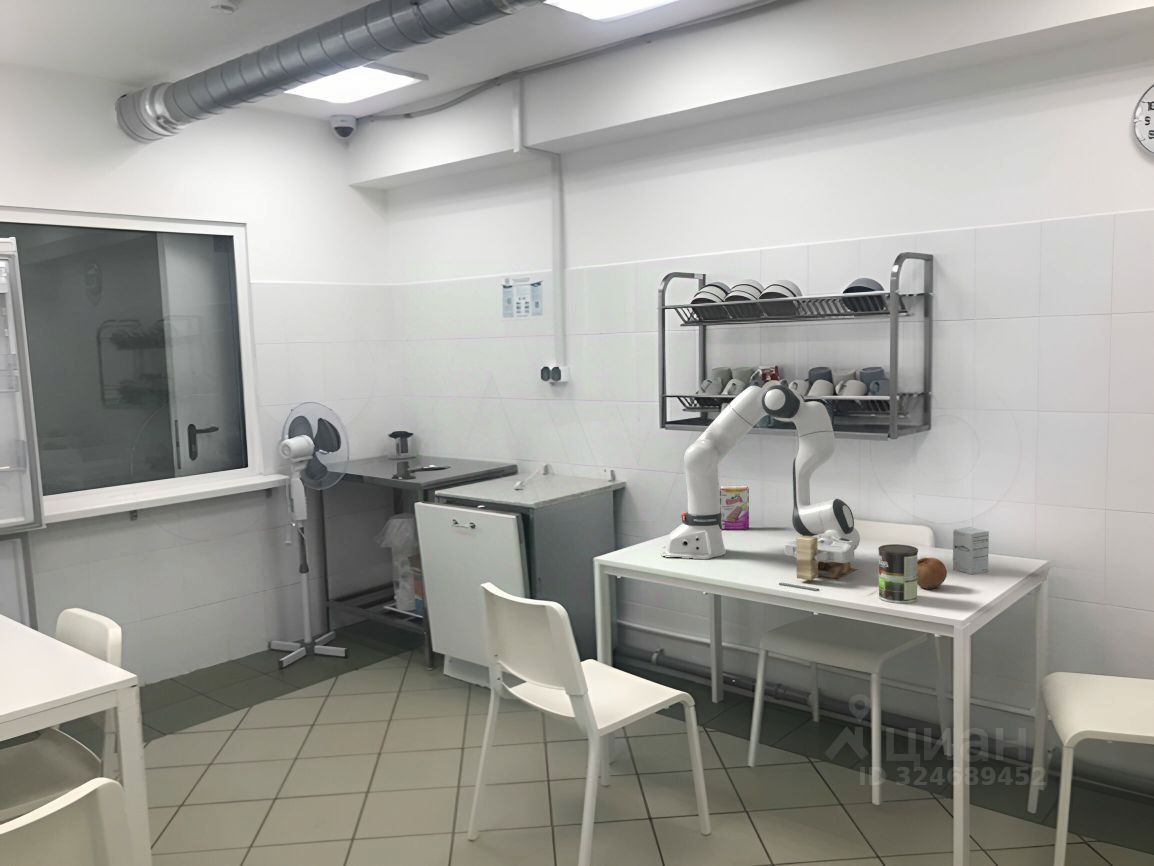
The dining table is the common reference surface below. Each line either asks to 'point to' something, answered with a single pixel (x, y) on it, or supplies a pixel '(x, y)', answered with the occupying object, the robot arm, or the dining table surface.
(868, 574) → the dining table surface
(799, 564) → the maple block
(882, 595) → the coffee can
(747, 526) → the candy bar box
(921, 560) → the onion
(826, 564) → the walnut chute
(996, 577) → the dining table surface
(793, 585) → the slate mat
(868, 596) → the dining table surface
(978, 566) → the supplement box
